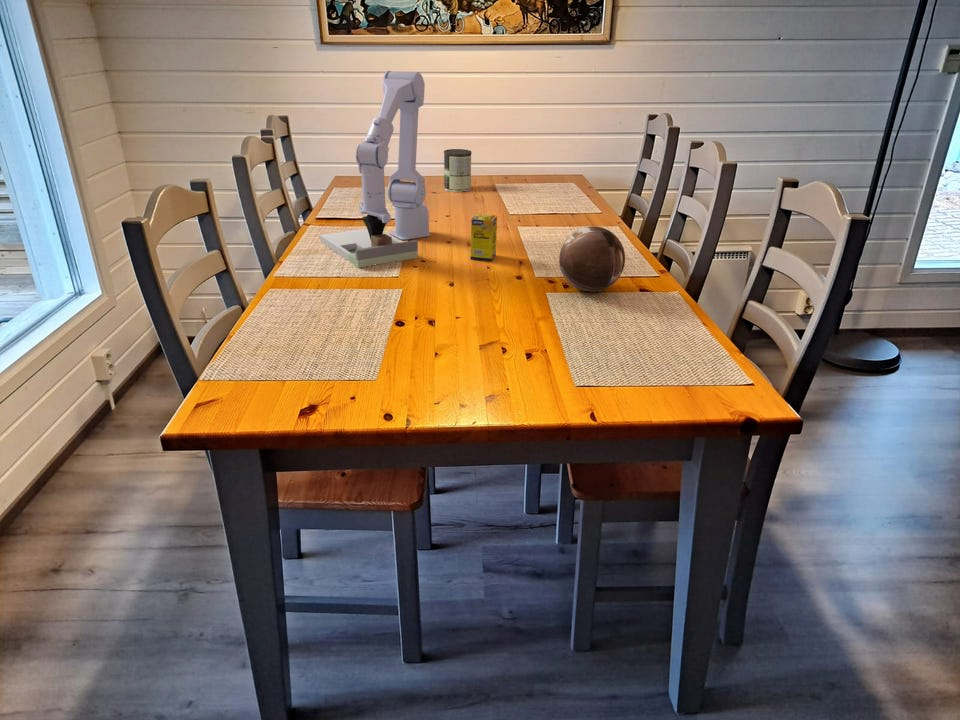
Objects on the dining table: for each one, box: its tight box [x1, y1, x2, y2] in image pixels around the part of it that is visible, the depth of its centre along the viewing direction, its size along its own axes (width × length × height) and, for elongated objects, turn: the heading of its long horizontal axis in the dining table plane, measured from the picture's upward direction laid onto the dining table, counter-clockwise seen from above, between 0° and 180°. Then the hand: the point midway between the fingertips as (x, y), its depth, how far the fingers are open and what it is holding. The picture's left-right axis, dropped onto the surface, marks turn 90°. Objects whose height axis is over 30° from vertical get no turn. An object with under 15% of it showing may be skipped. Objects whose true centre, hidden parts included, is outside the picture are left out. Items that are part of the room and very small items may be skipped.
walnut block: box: [371, 233, 393, 247], centre depth 170 cm, size 4×4×4 cm
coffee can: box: [443, 148, 473, 193], centre depth 247 cm, size 10×10×14 cm
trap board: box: [319, 228, 419, 269], centre depth 178 cm, size 17×26×4 cm, turn 33°
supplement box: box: [470, 213, 498, 262], centre depth 173 cm, size 6×6×11 cm
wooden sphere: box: [558, 226, 626, 292], centre depth 152 cm, size 15×15×15 cm
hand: (376, 243), depth 173 cm, fingers closed
